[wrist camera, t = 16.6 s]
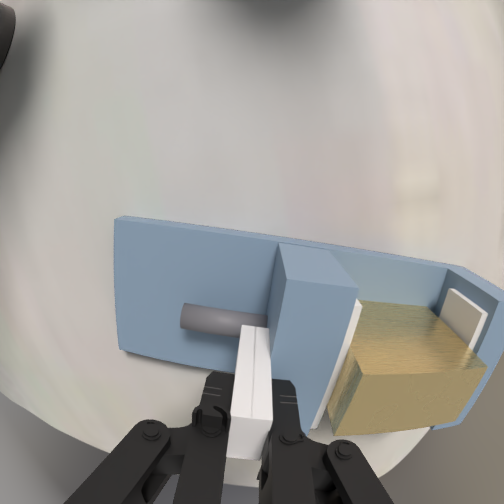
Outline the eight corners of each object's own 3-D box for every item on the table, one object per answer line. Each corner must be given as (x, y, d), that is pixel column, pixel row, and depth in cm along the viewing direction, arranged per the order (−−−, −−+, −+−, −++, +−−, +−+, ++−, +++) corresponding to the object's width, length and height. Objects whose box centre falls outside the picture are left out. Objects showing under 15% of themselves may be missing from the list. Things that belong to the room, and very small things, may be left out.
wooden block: (312, 348, 19) (333, 435, 11) (326, 296, 18) (363, 374, 10) (408, 352, 19) (455, 421, 11) (426, 306, 18) (488, 366, 10)
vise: (126, 339, 21) (83, 397, 14) (124, 215, 19) (58, 240, 11) (423, 370, 21) (460, 424, 14) (463, 266, 19) (523, 303, 11)
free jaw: (185, 367, 19) (163, 426, 14) (193, 230, 17) (159, 259, 11) (303, 382, 19) (313, 444, 14) (337, 251, 17) (372, 289, 11)
